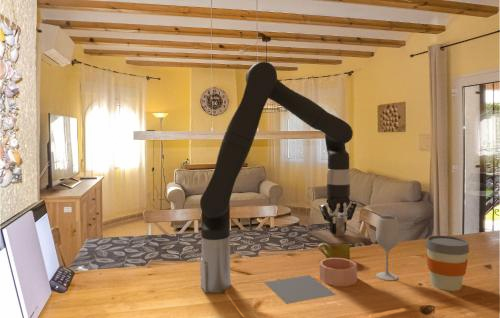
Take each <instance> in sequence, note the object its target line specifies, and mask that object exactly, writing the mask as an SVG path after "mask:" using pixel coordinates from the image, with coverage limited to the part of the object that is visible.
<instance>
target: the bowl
mask: <svg viewBox="0 0 500 318" xmlns="http://www.w3.org/2000/svg"><path fill="white" fill-rule="evenodd" d="M319 280H320V282H322V283H324V284H326V285H330V286H334V287H347V286H353V285H354V284H356V283H357V282H358V264H357V263H356V262H355V261H353V260H351V259H350V260H348V259H344V258H326V257H325V258H323V259H322V260H320V261H319Z"/></svg>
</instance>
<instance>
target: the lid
mask: <svg viewBox="0 0 500 318" xmlns="http://www.w3.org/2000/svg"><path fill="white" fill-rule="evenodd" d="M344 220H345V218H343V217H340V215H338V216H337V218H336V234H332V233H331V232H330V228H329V229H320V230H313V231H307V232H306V233H307V235H309V236H310V237H312V238H314V239H316V240H318V241H320V242H321V243H324V244H325V243H326V244H328V245H330V246H336V245H343V244H350V245H351V244H357V243H364V242H371V240H372V239H371V238H370V237H369V236H366V235H363V234H361V233H359V232H355V231H353V230H351V229H349V228H346V231H345V233H344Z"/></svg>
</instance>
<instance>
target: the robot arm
mask: <svg viewBox="0 0 500 318" xmlns="http://www.w3.org/2000/svg"><path fill="white" fill-rule="evenodd" d="M245 83H246V85H245V88H244V91H243V95H242V97H241V101H240V103H239V104H238V107H237V109H236V110H235V112H234V113H233V115H232V118H231V119H230V121H229V123H228V126H227V128H226V131H225V132H224V135H223V138H222V141H221V145H220V147H219V151H218V155H217V159H216V163H215V166H214V171H213V173H212V176H211V177H210V180H209V182H208V184H207V186H206V188H205V189H204V191H203V193H202V194H201V197H200V200H199V207H200V209H201V228H200V231H201V233H200V234H201V236H200V237H201V257H200V259H199V260H200V262H199V263H200V287H201V289H202V291H203V292H204V294H205V293H211V294H212V293H214V294H218V293H224V292H226V290H228V289H230V287H231V235H230V233H231V217H230V216H231V215H230V212H231V211H230V210H231V209H230V207H231V206H230V203H231V202H230V201H231V197H232V195H233V191H234V190H233V189H234V187H235V183H236V181H237V178H238V177H239V173H240V172H241V170H242V168H243V166H244V164H245V162H246V159H247V157H248V155H249V153H250V150H251V148H252V146H253V142H254V140H255V137H256V134H257V131H258V127H259V124H260V121H261V118H262V114H263V111H264V109H265V106H266V104H267V102H268V100H272V101H273V102H274V103H277V104H278V105H279V106H281V107H283V108H284V109H286V110H287V111H288V112H290V113H291V114H292V115H294V116H295V117H297V118H298V119H300V120H301V121H302V122H303V123H305V124H306V125H308V126H309V127H311V128H312V129H314V130H317V131H320V132H322V133H323V134H324V137H325V138H324V140H325V147H326V152H327V173H326V196H327V199H326V202H325V203H323V204H319V205H318V206H319V210H320V212H321V215H322V218H323V219H324V221H326V222H329V229H330V232H331V233H332V234H336V218H337V216H340V217H343V218H345V220H344V233H345V231H346V229H347V222H348V221H351V220H352V219H353V217H354V214H355V212H356V208H357V206H358V204H357V203H356V202H353V201H351V199H350V196H351V174H350V173H351V172H350V154H349V152H347V149H346V144H347V143H349V142H350V141H351V140H352V139H353V135H354V132H353V129H352V126H351V125H350V124H349V123H348V122H346V121H344V120H343V119H341V118H339V117H337V116H336V115H334V114H331V113H330V112H328V111H326V110H325V109H324V108H323V107H322V106H320V105H319V104H318V103H316V102H314V101H313V100H312V99H310V98H308V97H306V96H305V95H302V94H300V93H298V92H296V91H295V90H293V89H291V88H289V87H288V86H287V85H286V84H284V83H282V81H280V80H279V79H278V73H277V70H276V68H275V66H274V65H273V64H272V63H270V62H268V61H259V62H257V63H255V64H253V65H252V66H251V67H249V69H248V71H247V72H246V74H245Z"/></svg>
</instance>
